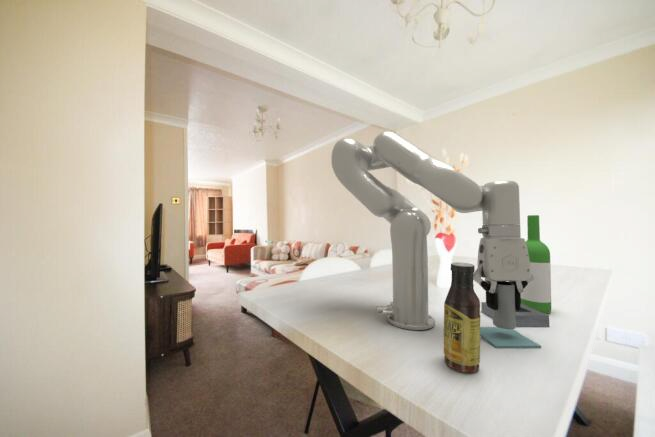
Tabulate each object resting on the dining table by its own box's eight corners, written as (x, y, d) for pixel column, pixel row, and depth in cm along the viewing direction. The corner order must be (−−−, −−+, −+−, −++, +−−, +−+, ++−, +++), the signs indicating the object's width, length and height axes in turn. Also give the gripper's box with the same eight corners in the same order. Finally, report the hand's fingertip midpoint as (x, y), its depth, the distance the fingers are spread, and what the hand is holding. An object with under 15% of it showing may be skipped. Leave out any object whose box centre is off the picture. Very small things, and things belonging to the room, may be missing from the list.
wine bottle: (526, 313, 76) (524, 215, 77) (515, 305, 84) (513, 215, 84) (557, 315, 74) (555, 214, 75) (542, 307, 82) (541, 215, 82)
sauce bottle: (437, 357, 52) (436, 261, 52) (466, 356, 52) (465, 260, 53) (456, 377, 45) (455, 266, 45) (489, 375, 46) (487, 265, 46)
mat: (495, 348, 55) (495, 345, 55) (470, 328, 65) (470, 327, 65) (541, 348, 55) (541, 345, 55) (509, 329, 65) (509, 327, 65)
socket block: (506, 326, 67) (506, 315, 67) (481, 311, 78) (481, 302, 78) (549, 326, 67) (549, 315, 67) (517, 311, 78) (517, 302, 78)
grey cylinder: (520, 330, 58) (518, 285, 58) (498, 329, 59) (496, 284, 59) (509, 322, 62) (508, 280, 62) (489, 321, 63) (488, 280, 63)
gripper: (474, 233, 57) (477, 314, 57) (549, 232, 57) (552, 313, 57) (458, 232, 65) (460, 303, 64) (524, 231, 65) (526, 303, 64)
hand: (503, 307), depth 60 cm, fingers closed on grey cylinder, 4 cm apart
